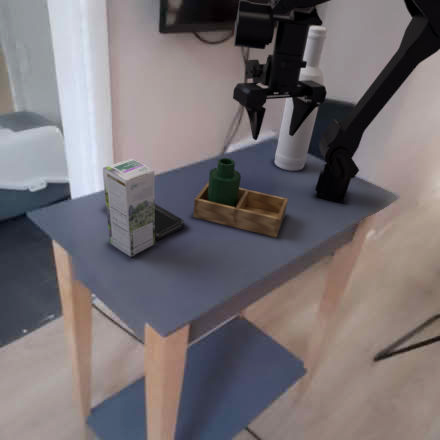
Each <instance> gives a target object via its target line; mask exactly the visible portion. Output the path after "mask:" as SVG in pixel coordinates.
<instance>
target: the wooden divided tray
mask: <svg viewBox="0 0 440 440" xmlns="http://www.w3.org/2000/svg"><path fill="white" fill-rule="evenodd" d="M208 185H209V180H208V181H207V183H206V184H205V185H204V186H203V188H202V189H201V191H200V192H198V194H197V195H196V197H195V198H194V204H193V218H195V219H198V220H204V221H206V222H207V221H208V222H212V223H214V224H215V223H216V224H219V225H223V226H228V227H232V228H236V229H240V230H244V231H248V232H253V233H256V234H262V235H265V236H268V237H273V238H278V234H279V232H280V229H281V226H282V224H283V221H284V218H285V216H286V215H285V214H286V211H287V207H288V202H289V198H286V197H282V196H278V195H274V194H269V193H265V192H261V191H256V190H250V189H248V188H247V189H246V188H242V187H239V193H238V201H237V206H236V207H232V206H228V205H223V204H219V203H215V202H211V201H207V199H208Z"/></svg>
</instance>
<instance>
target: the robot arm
mask: <svg viewBox="0 0 440 440" xmlns="http://www.w3.org/2000/svg"><path fill="white" fill-rule="evenodd" d="M330 1H331V0H269V1H268V2H267V3H261V2H252V1H250V0H239V1H238V8H237V14H236V19H235V20H234V21H235V22H234V31H233V47H237V48H246V49H247V48H248V49H256V50H257V49H258V50H265V49H266V46H269V45H270V44H272V42H273V39H274V44H273V50H272V54H268V55H267V57H266V61H265V63H260V60H259V59H248V60H246V64H245V69H244V71H245V78H246V80H252V82H238V83H237V84H236V85H235V86H234V88H233V93H232V99H233V100H234V101H236V102H238V104H239V105H241V106H242V107H244V108H245V110H246V111H245V112H246V113H247V116H248V121H249V125H250V131H251V136H252V139H253V140H254V141H257V140H258V138H259V135H260V134H261V133H260V132H261V128H262V125H263V121H264V118H265V114H266V110H267V108H266V107H264V105H265V104H266V103H267V100H276V99H286V98H292V101H293V113H292V118H291V123H290V129H289V135H290V136H293V135H294V134H295V133H296V131H297V130H298V129H299V127H300V126H301V125H302V123H303V122H304V121H305V119H306V118H307V117H308V116H309V115H310V113H311V112H312V111H313V110H314V109H315V108H316V107H318V106H320V104H322V103H323V104H324V103H325V102H326V98H327V94H328V92H327V89H326V86H325V85H324V86H323V85H321V84H319V83H317V82H314V81H312V80H305V81H299V77H300V72H301V68H306V65H307V62H306V61H304V60H303V58H304V53H305V48H306V43H307V38H308V33H309V28H310V27H311V26H319V27H322V25H323V23H324V22H323V20H322V19H321V17H320V15H319V13H318V9H317V8H316V7H315V6H319V5H322V4H325V3H328V2H330ZM403 3H404V6H405V8H406V11H407V12H408V14H409V15H410V17H411V19H410V21H409V23H408V25H407V26H406V28H405V30H404V33H403V36H402V38H401V41H400V44H399V47H398V49H397V50H396V52H395V53H394V54H393V56H392V57H391V58H390V59H389V61H388V62H387V64H386V65H385V66H384V67H383V68H382V70H381V71H380V73H379V74H378V75H377V77H376V78H375V79H374V80H373V82H372V83H371V84H370V86H369V87H368V88H367V89H366V91H365V92H364V94H363V95H362V96H361V97H360V99H359V100H358V101H357V102H356V103H355V105H354V107H353V108H352V109H351V111H350V112H349V113H348V114H347V115H346V116H345V117H344V118H343V119H341V120H340V121H337V120H336V119H335V118H333V119H331V121H330V122H329V124H328V126H327V128H326V129H325V130H324V131H323V132H322V133H320V136H321V138H320V140H319V141H318V149H319V152H320V154H321V155H322V157H323V159H324V162H325V163H324V167H323V169H321V170H320V171H319V175H318V179H317V182H316V186H315V192H316V194H315V197H316V198H318V199H323V200H327V201H332V202H335V203H336V202H337V203H341V204H345V201H346V195H347V192H348V189H349V186H350V183H351V180H352V179H354V178H355V177H356V176H357V175H358V173H359V172H360V169H359V167H358V165H357V164H356V162H355V161H354V159H353V157H354V155H355V154H356V152H357V151H358V149H359V147H360V144H361V141H362V138H363V135H364V133H365V131H366V130H367V129H368V127H369V126H370V125H371V124H372V123H373V121H374V120H375V119H376V117H377V116H378V115H379V113H381V111H382V110H383V109H384V108H385V106H386V105H387V104H388V103H389V102H390V100H391V99H392V98H393V96H394V95H395V94H396V92H397V91H398V90H399V89H400V88H401V87H402V85H404V83H405V82H406V80H407V79H408V78H409V77H410V75H411V74H412V73H413V71H415V69H416V68H417V67H418V66H419V65H420V64H421V63H423V61H425V60H427V59H428V58H430V57H431V56H433V55H435V54H436V53H437V52H439V51H440V0H403ZM295 8H296V9H306V8H309V10H308V11H304V10H303V11H302V10H294V9H295ZM289 12H290V14H289V15H286V14H288V13H289ZM276 23H277V24H276ZM275 26H276V31H275ZM274 34H275V35H274ZM274 36H275V37H274ZM258 84H260V85H261V86H260V85H258ZM262 86H264V87H262ZM265 86H266V87H265ZM318 103H319V104H318ZM318 108H319V107H318Z"/></svg>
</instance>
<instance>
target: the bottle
mask: <svg viewBox="0 0 440 440" xmlns="http://www.w3.org/2000/svg"><path fill="white" fill-rule="evenodd" d="M327 31H328V30H327V28H326V27H324V26H317V25H310V28H309V33H308V38H307V42H306V47H305V52H304V57H303V60H304V61H306V62H307V65H306V68H301V72H300V77H299V81H305V80H312V81H314V82H317V83H319V84H321V85H323V86H325V84H324V81H325V80H324V74H323V73H324V72H323V71H322V69H321V67H320V62H321V58H322V57H321V56H322V53H323V48H324V44H325V40H326V39H327ZM318 104H319V106H320V103H318ZM319 106H318V107H316V108H315V109H314V110H313V111H312V112H311V113H310V115H309V116H308V117H307V118H306V119H305V121H304V122H303V123H302V125H301V126H300V127H299V129H298V130H297V131H296V133H295V134H294V135H293V136H290V135H289V129H290V123H291V118H292V113H293V101H292V98H285V104H284V108H283V115H282V120H281V125H280V131H279V135H278V142H277V146H276V149H275V156H274V164H275V166H276V167H278V168H280V169H281V170H286V171H291V172H296V171H300V170H303V168H305V164H306V162H307V157H308V152H309V147H310V145H311V139H312V136H313V131H314V127H315V123H316V118H317V115H318V111H319Z"/></svg>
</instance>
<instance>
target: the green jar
mask: <svg viewBox="0 0 440 440" xmlns="http://www.w3.org/2000/svg"><path fill="white" fill-rule="evenodd" d="M235 167H236V162H235V160H234V159H232V158H228V157H222V158H221V157H220V158H219V159H218V160H217V165H216V167H214V168H211V170H209V173H208V181H209V185H208V199H207V201H211V202H215V203H219V204H223V205H228V206H232V207H236V206H237V201H238V193H239V188H240V187H241V185H240V184H241V178H242V176H241V173H240V172H239V171H238V170H236V169H235Z"/></svg>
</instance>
